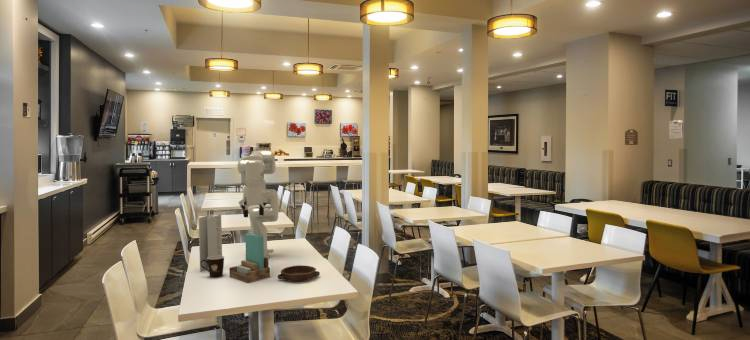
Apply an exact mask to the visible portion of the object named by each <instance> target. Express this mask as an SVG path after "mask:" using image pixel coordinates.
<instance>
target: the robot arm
mask: <svg viewBox="0 0 750 340" xmlns="http://www.w3.org/2000/svg"><path fill="white" fill-rule="evenodd" d="M276 168H277V166H276V156H275V154H274V152H272V150H254V151H252V152H251V153H250V154H249V155H247V156H244V157H241V158H240V159H238V162H237V171H238V173H239V174H242V175H245V186H244V188H243V193H242V194H243V195H242V199H241V200H239V201H238V204H239V207H240V208H241V209H242V214H243V218H249V222H250V233H252V234H256V235H261V236H263V242H264V257H267V258H268V259H269V258H270V257H271V255H270V253H274V249H273V248H272V249H268V228H267V227H266V225H265V224H264V223H274V222H277V221H278V220H279V195H278V191H277V190H276V189H274V188H270V189H268V188H267V187H266V180H265V179H264V178H263V176H262V175H273V174H275V172H276V170H277V169H276ZM266 205H268V206H266ZM249 207H252V208H250V210H248V209H249Z"/></svg>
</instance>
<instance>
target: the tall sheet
mask: <svg viewBox="0 0 750 340" xmlns="http://www.w3.org/2000/svg"><path fill="white" fill-rule="evenodd" d="M244 237H245V261H249V262H253V263H256V264H257V265H258V270H259V269H263V268H264V242H263V236H261V235H256V234H252V233H251V232H250V233H245V236H244Z"/></svg>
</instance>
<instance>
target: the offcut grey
mask: <svg viewBox="0 0 750 340" xmlns="http://www.w3.org/2000/svg"><path fill="white" fill-rule="evenodd" d="M236 266H237V273H239V274H243V275H246V273H247V272H251V268H247V267H244V266H241V264H240V266H239V265H236Z"/></svg>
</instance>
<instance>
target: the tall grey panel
mask: <svg viewBox="0 0 750 340" xmlns="http://www.w3.org/2000/svg"><path fill="white" fill-rule="evenodd" d="M222 230H223V229H222V214H217V215H214V213H212V214H207V215H204V216H201V217H198V244H199V250H198V251H199V272H200V273H201V272H202V271H205V270H206V269H208V270H209V267H208V263H207V262H206V261H203V262H202V263H201V261H202V260H207V258H208V257H210V256H223V238H222V237H223V236H222V235H223V234H222V233H223V232H222ZM207 261H208V260H207ZM200 263H201V264H202V266H203V267H205V268H206V269H204V268H203V267H202V266H201V265H200ZM208 270H207V271H208Z"/></svg>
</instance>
